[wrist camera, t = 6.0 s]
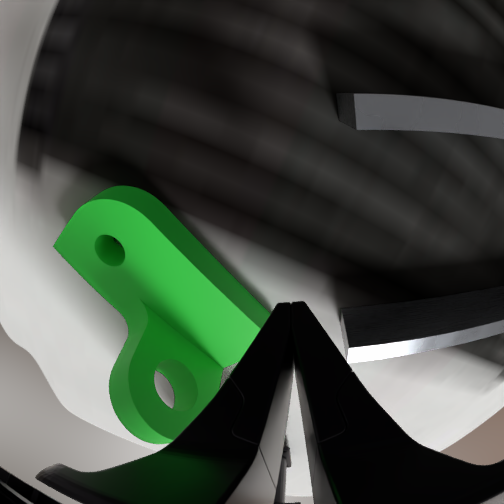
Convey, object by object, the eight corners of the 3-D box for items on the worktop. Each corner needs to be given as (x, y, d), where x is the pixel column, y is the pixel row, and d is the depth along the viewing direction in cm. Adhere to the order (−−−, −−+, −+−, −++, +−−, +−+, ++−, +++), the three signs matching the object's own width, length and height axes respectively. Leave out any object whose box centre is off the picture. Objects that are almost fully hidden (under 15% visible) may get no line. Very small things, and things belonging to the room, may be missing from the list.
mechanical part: (278, 318, 17) (272, 446, 10) (206, 354, 19) (180, 459, 12) (125, 160, 13) (7, 240, 6) (71, 229, 15) (-15, 316, 8)
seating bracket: (524, 293, 14) (543, 318, 12) (340, 323, 17) (347, 363, 14) (559, 124, 8) (591, 138, 6) (336, 93, 10) (354, 93, 8)
